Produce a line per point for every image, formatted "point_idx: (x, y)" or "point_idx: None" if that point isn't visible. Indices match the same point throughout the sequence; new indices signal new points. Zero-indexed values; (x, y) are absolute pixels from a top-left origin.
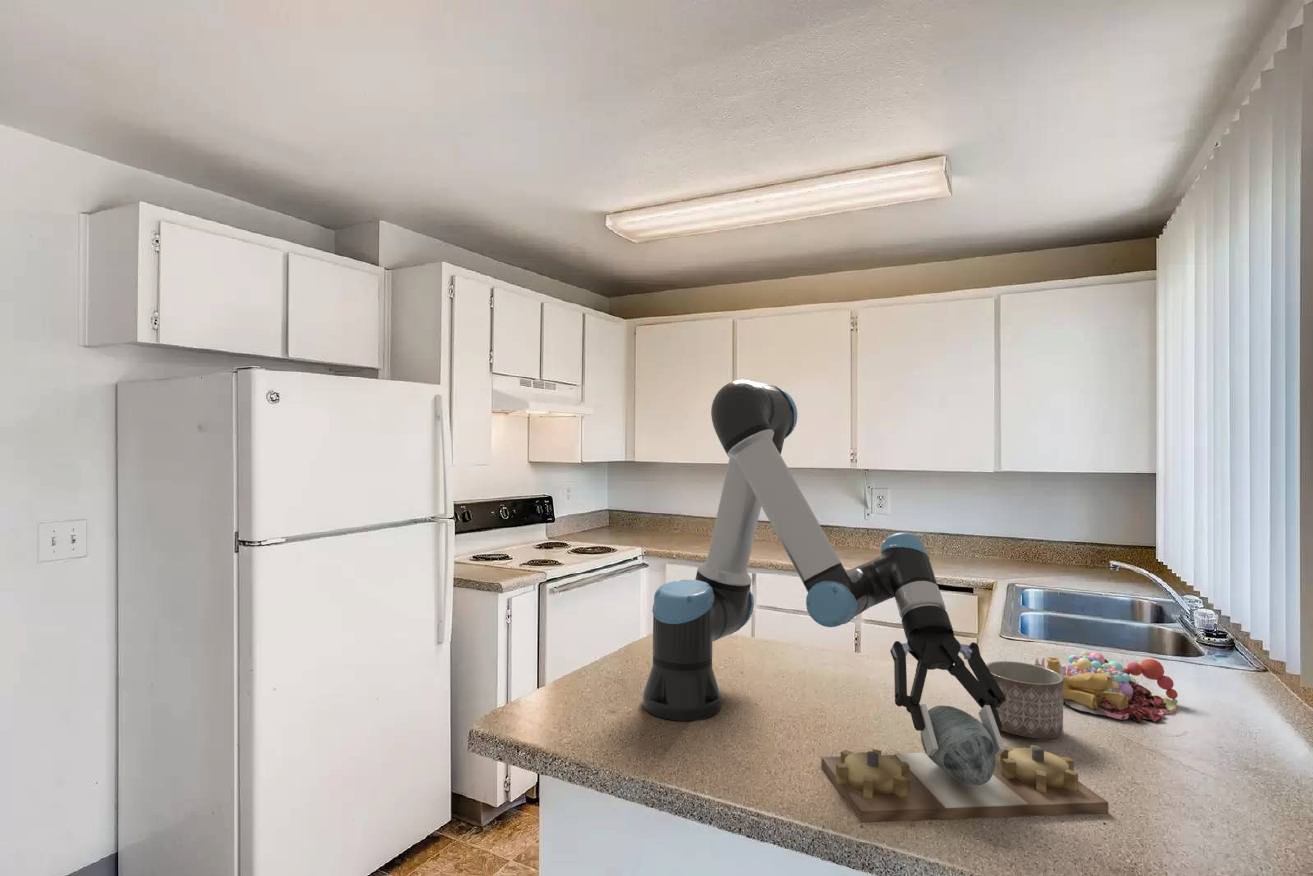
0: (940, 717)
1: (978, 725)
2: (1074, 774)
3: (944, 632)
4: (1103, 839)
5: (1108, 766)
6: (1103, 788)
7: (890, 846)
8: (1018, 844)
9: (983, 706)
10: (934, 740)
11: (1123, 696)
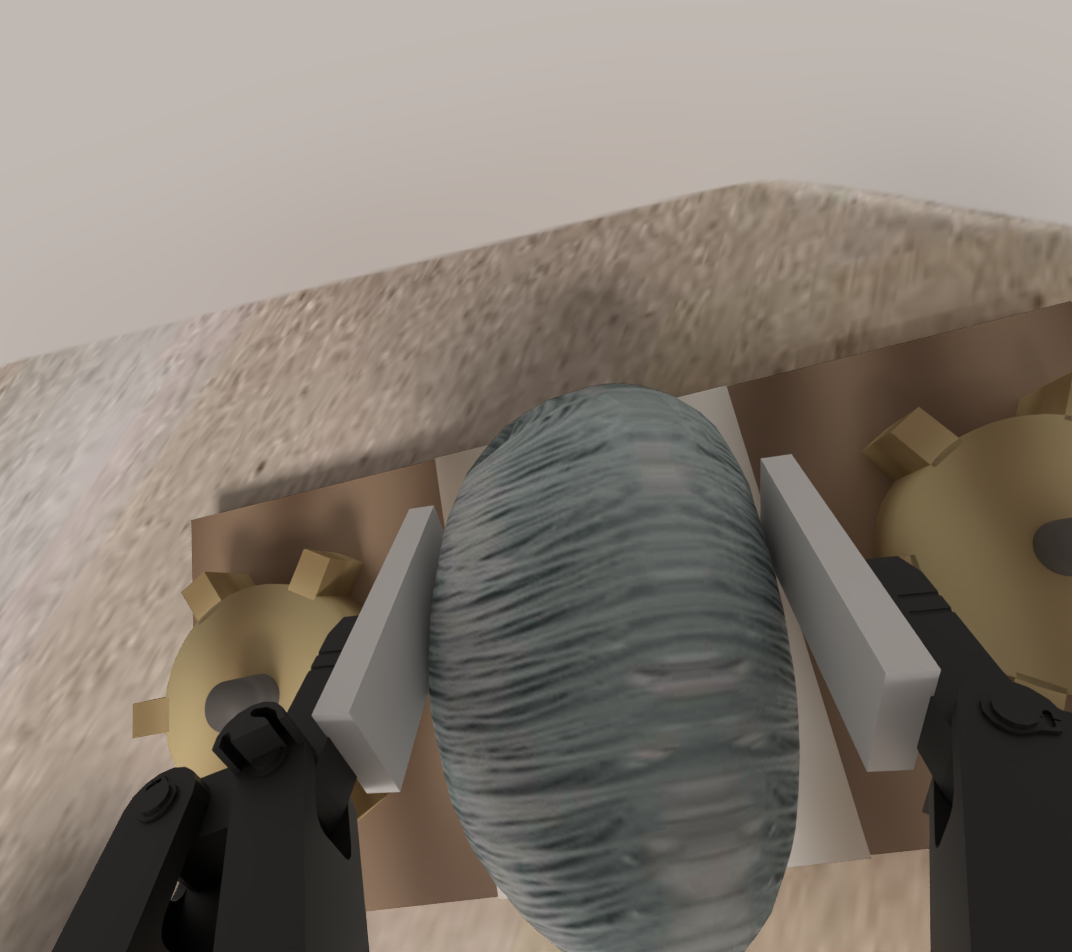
0: (716, 670)
1: (493, 531)
2: (200, 576)
3: None
4: (310, 385)
5: (18, 860)
6: (136, 683)
7: (938, 216)
8: (542, 313)
9: (341, 805)
10: (786, 479)
11: None
